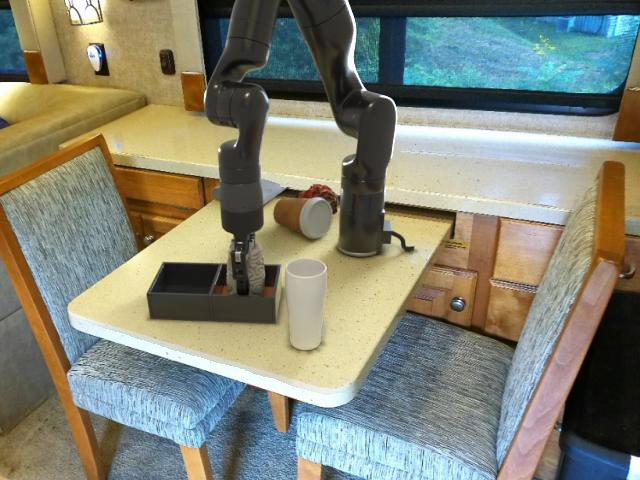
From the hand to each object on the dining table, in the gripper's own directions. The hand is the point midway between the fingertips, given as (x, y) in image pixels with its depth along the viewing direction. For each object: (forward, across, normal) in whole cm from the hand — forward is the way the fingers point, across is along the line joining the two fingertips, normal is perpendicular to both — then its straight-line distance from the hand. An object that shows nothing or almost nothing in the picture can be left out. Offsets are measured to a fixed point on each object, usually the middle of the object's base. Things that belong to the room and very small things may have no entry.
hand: (245, 284), depth 113 cm
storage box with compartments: (+5, 0, +6) cm, 7 cm away
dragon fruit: (+5, +42, -12) cm, 43 cm away
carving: (+4, 0, 0) cm, 4 cm away
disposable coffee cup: (+1, +36, -4) cm, 37 cm away
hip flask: (+3, +48, +9) cm, 49 cm away
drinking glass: (+5, -12, -12) cm, 17 cm away
